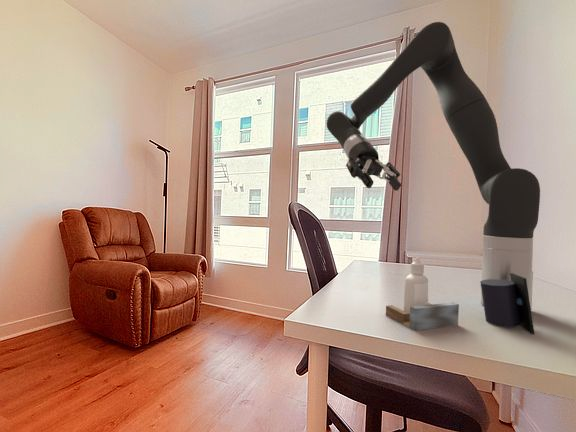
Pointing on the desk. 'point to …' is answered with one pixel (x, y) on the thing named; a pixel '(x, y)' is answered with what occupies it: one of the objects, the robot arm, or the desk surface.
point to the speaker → (507, 302)
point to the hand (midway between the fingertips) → (384, 186)
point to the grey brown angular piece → (426, 315)
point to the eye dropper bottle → (415, 287)
